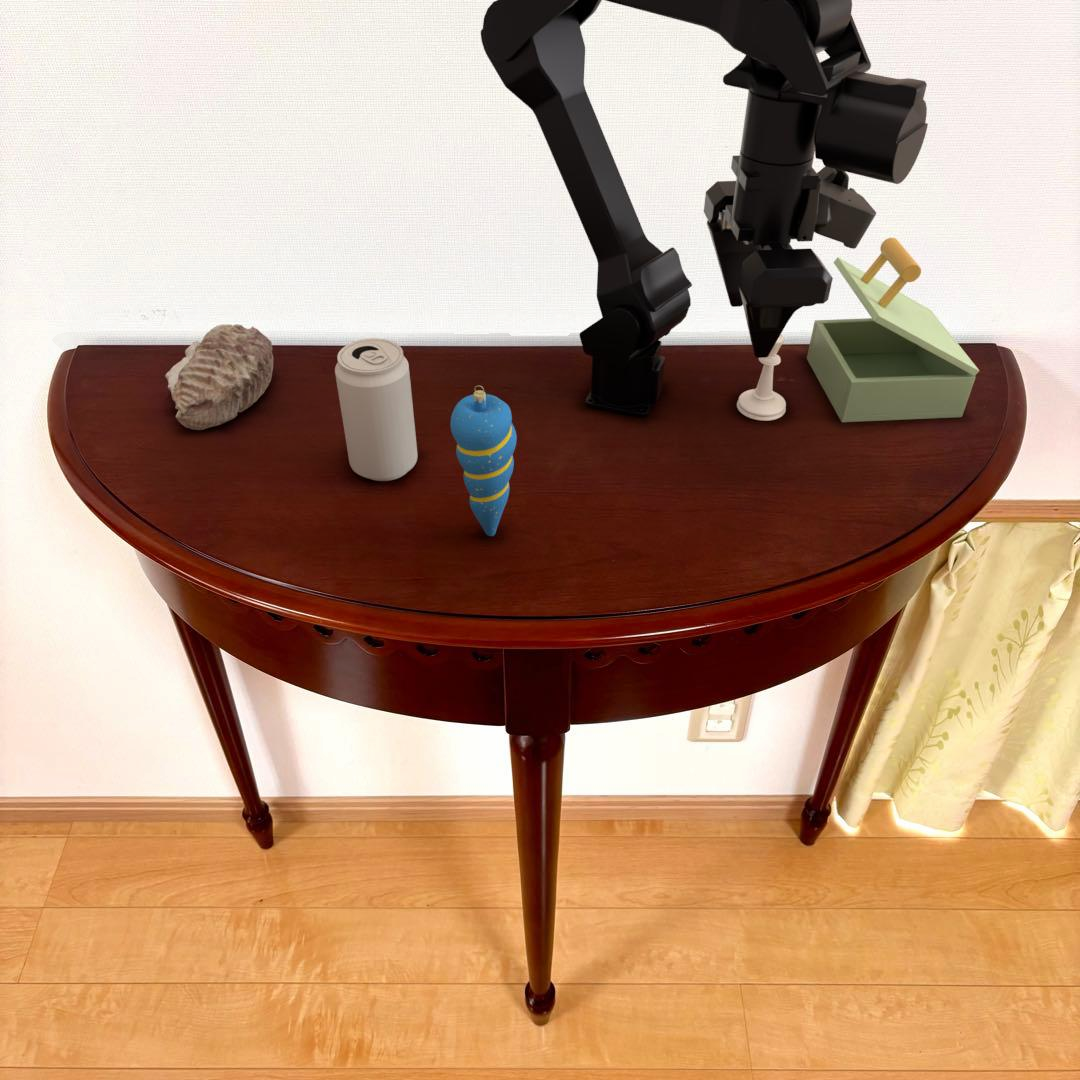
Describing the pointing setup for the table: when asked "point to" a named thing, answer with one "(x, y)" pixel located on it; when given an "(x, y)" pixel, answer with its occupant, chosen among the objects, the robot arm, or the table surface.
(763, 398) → the chess piece
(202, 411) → the seashell
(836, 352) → the chest
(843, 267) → the chest lid
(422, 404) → the table surface
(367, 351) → the beverage can
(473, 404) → the ornament
